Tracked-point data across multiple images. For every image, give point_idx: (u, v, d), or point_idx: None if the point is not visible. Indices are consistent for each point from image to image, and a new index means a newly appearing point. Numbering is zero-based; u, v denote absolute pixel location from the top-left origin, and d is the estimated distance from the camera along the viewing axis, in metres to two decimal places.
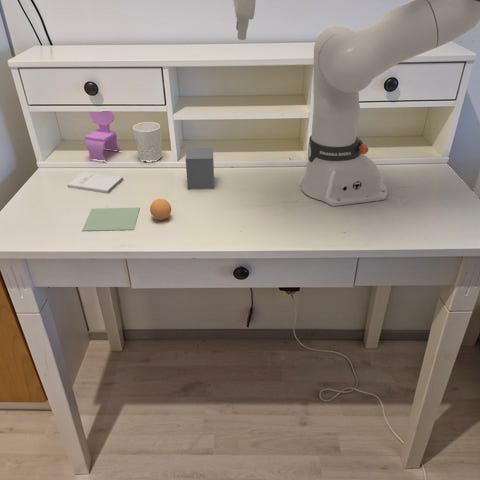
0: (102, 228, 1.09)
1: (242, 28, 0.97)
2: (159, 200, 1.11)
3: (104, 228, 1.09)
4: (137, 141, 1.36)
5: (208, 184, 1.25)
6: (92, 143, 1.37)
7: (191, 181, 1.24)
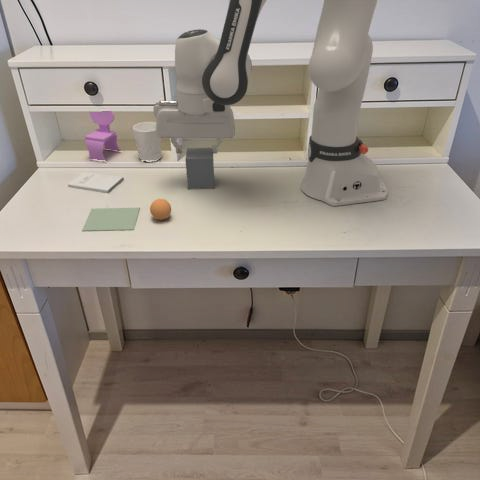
0: (102, 228, 1.09)
1: None
2: (159, 200, 1.11)
3: (104, 228, 1.09)
4: (137, 141, 1.36)
5: (208, 184, 1.25)
6: (92, 143, 1.37)
7: (191, 182, 1.24)
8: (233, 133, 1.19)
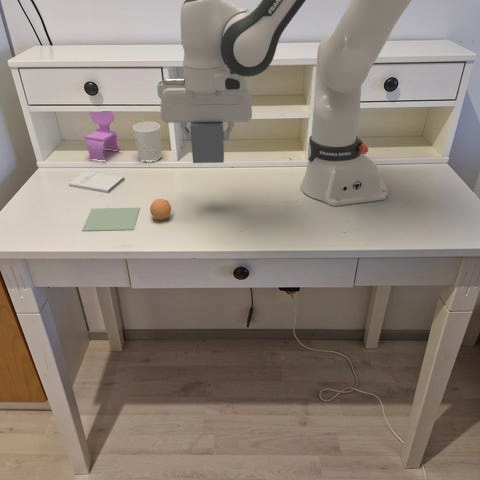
0: (102, 228, 1.09)
1: None
2: (159, 200, 1.11)
3: (104, 228, 1.09)
4: (137, 141, 1.36)
5: (217, 157, 1.06)
6: (92, 143, 1.37)
7: (196, 154, 1.06)
8: (250, 115, 1.02)
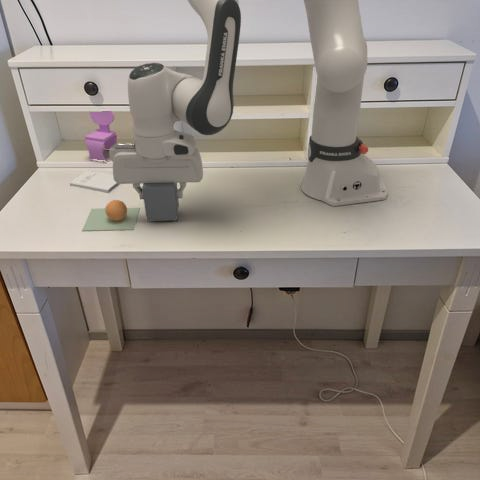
0: (102, 228, 1.09)
1: None
2: None
3: (104, 228, 1.09)
4: None
5: (170, 215, 1.09)
6: (92, 143, 1.37)
7: (150, 212, 1.09)
8: (200, 177, 1.06)
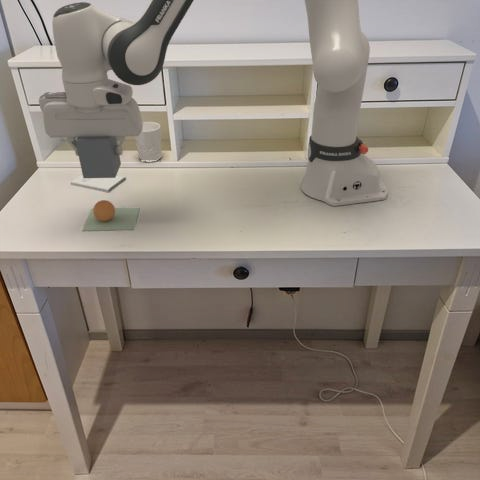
0: (102, 228, 1.09)
1: None
2: (111, 205, 1.11)
3: (104, 228, 1.09)
4: (137, 141, 1.36)
5: (107, 172, 1.03)
6: None
7: (86, 169, 1.02)
8: (138, 130, 0.99)
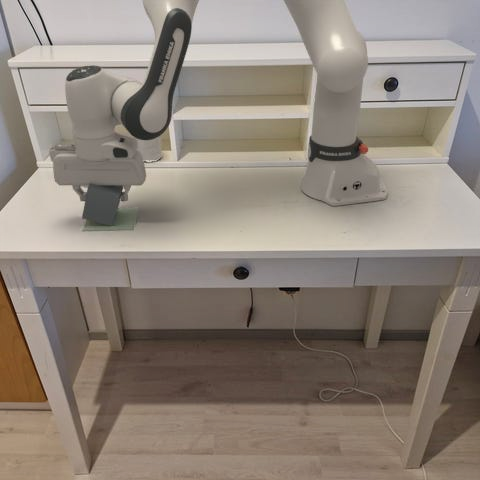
0: (102, 228, 1.09)
1: None
2: None
3: (104, 228, 1.09)
4: (137, 141, 1.36)
5: (106, 220, 1.09)
6: None
7: (87, 212, 1.08)
8: (141, 180, 1.05)
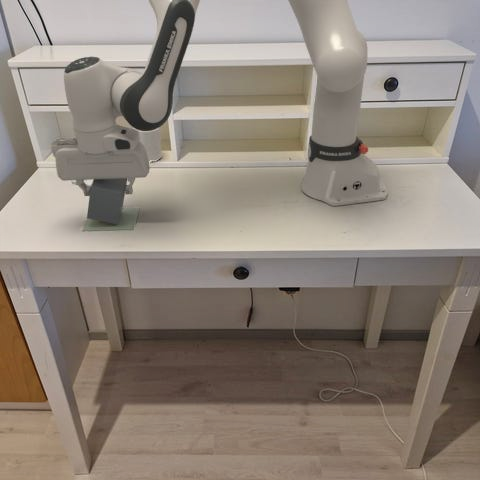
0: (102, 228, 1.09)
1: None
2: None
3: (104, 228, 1.09)
4: None
5: (111, 219, 1.09)
6: None
7: (92, 211, 1.07)
8: (145, 172, 1.04)
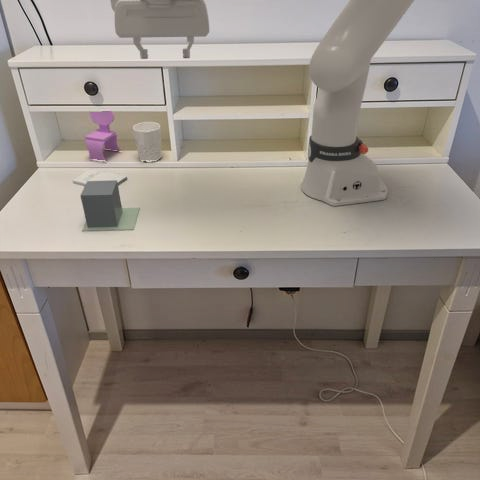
0: (102, 228, 1.09)
1: None
2: None
3: (104, 228, 1.09)
4: (137, 141, 1.36)
5: (110, 223, 1.09)
6: (92, 143, 1.37)
7: (90, 220, 1.09)
8: (206, 29, 1.00)
